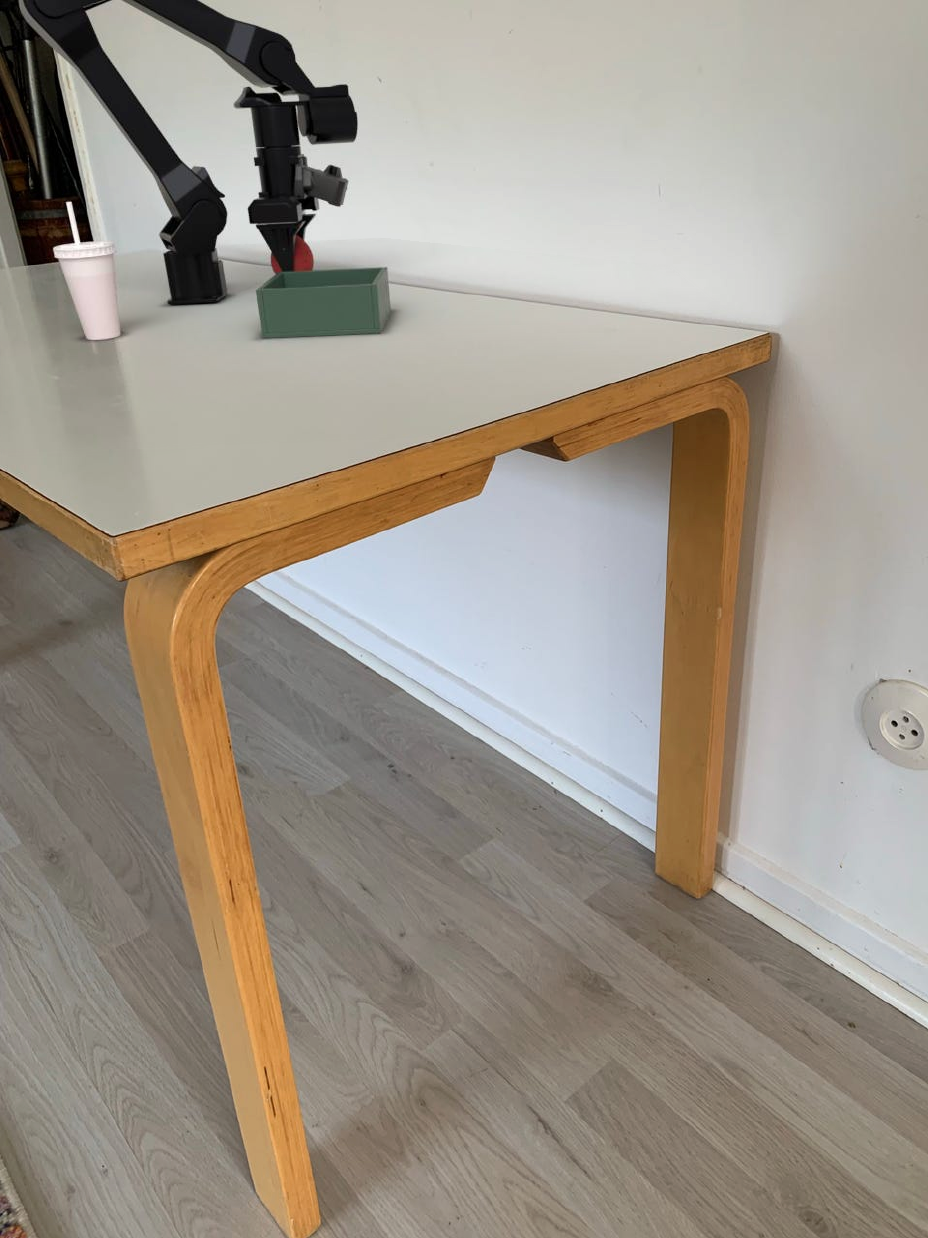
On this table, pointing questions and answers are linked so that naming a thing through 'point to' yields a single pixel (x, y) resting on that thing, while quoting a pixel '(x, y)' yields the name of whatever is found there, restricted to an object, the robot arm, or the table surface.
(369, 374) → the table surface
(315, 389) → the table surface
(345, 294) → the green storage bin
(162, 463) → the table surface
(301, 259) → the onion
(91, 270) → the smoothie
